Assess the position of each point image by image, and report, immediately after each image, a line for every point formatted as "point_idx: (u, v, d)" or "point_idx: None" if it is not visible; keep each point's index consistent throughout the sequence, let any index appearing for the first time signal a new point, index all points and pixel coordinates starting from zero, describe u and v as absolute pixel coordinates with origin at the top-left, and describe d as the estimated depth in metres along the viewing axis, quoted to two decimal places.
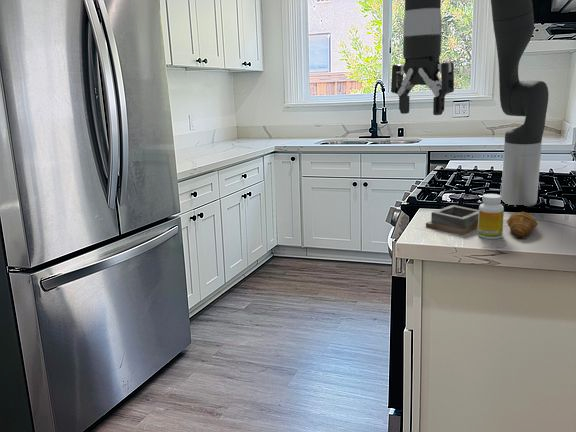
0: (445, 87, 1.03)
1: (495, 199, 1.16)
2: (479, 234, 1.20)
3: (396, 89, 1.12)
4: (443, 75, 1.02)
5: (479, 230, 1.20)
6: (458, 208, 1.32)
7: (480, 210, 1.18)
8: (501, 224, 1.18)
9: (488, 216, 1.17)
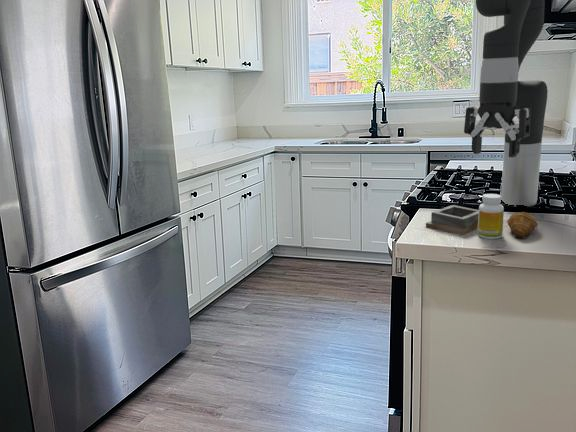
0: (522, 132, 1.08)
1: (495, 199, 1.16)
2: (479, 234, 1.20)
3: (469, 130, 1.18)
4: (521, 121, 1.07)
5: (479, 230, 1.20)
6: (458, 208, 1.32)
7: (480, 210, 1.18)
8: (501, 224, 1.18)
9: (488, 216, 1.17)
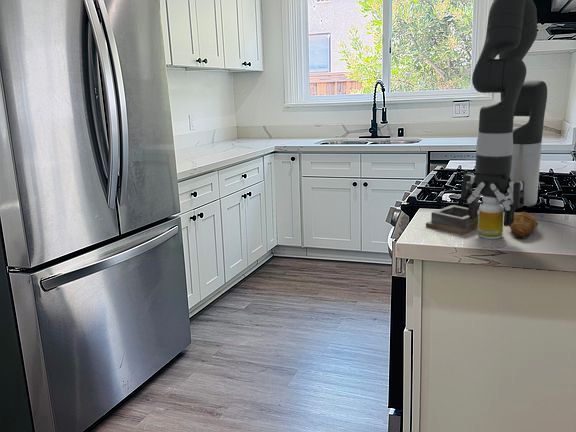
0: (517, 204, 1.12)
1: (495, 199, 1.16)
2: (479, 234, 1.20)
3: (466, 196, 1.22)
4: (515, 193, 1.12)
5: (479, 230, 1.20)
6: (458, 208, 1.32)
7: (480, 210, 1.18)
8: (501, 224, 1.18)
9: (488, 216, 1.17)
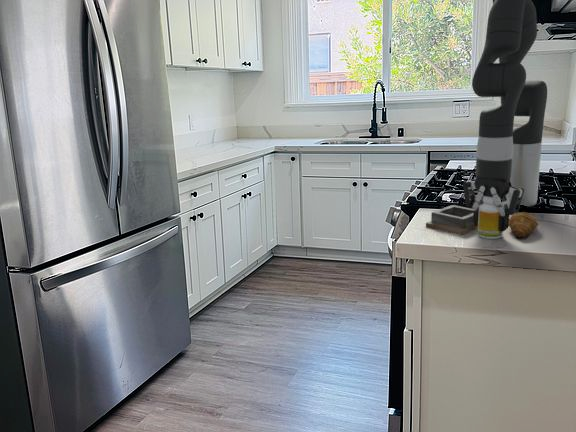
0: (511, 210, 1.13)
1: None
2: (479, 234, 1.20)
3: (470, 203, 1.21)
4: (513, 200, 1.13)
5: (479, 230, 1.20)
6: (458, 208, 1.32)
7: (480, 210, 1.18)
8: None
9: (488, 216, 1.17)
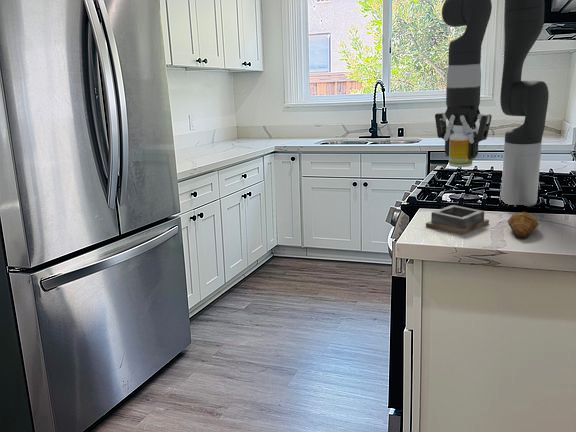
0: (479, 136, 1.18)
1: None
2: (450, 163, 1.24)
3: (442, 134, 1.26)
4: (481, 126, 1.17)
5: (450, 159, 1.24)
6: (458, 208, 1.32)
7: (451, 139, 1.23)
8: None
9: (458, 144, 1.21)
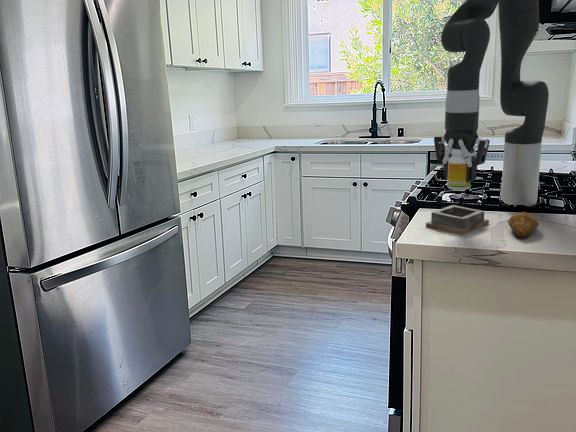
0: (477, 160, 1.19)
1: None
2: (448, 186, 1.26)
3: (441, 157, 1.27)
4: (479, 150, 1.19)
5: (448, 182, 1.26)
6: (458, 208, 1.32)
7: (449, 162, 1.24)
8: None
9: (456, 167, 1.23)
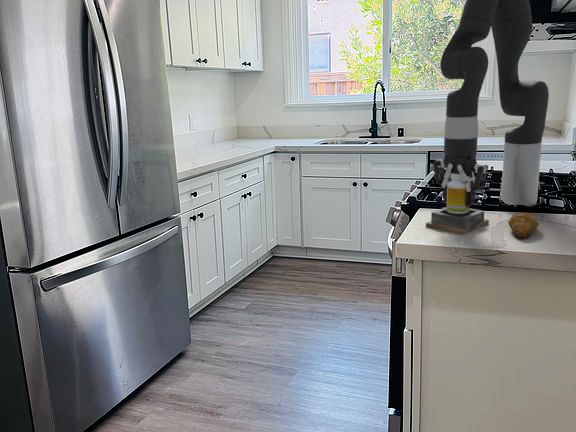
0: (476, 185, 1.21)
1: None
2: (447, 209, 1.27)
3: (440, 180, 1.29)
4: (477, 176, 1.20)
5: (447, 205, 1.27)
6: None
7: (448, 186, 1.26)
8: None
9: (455, 192, 1.24)
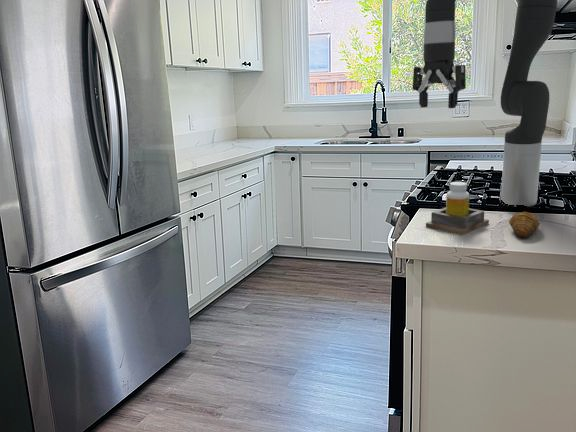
0: (458, 85, 1.26)
1: (461, 186, 1.24)
2: None
3: (417, 87, 1.35)
4: (457, 75, 1.25)
5: None
6: None
7: (447, 197, 1.27)
8: (467, 210, 1.26)
9: (454, 202, 1.25)
